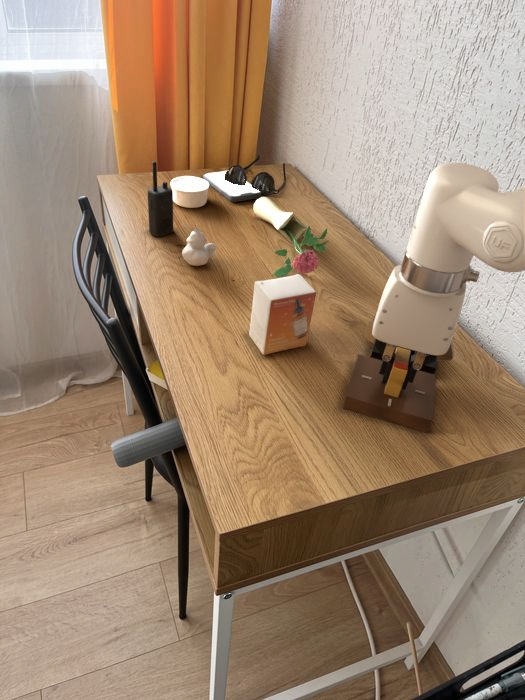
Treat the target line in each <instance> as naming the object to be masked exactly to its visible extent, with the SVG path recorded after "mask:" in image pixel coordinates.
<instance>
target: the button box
mask: <svg viewBox="0 0 525 700" xmlns="http://www.w3.org/2000/svg"><path fill="white" fill-rule="evenodd" d="M372 344H373V345H372V349H371V352H370V356H369V357H371V358H374V359H378V360H382V361H383V359H382V355H381V353H380V352H379V351H378V349H377V348H376V346H375V344H374V343H372ZM397 347H400V346H396V347H395V349H394V351H396V348H397ZM400 348H403V347H400ZM404 349H407V348H404ZM407 350H411V349H407ZM414 353H415V350H411V352H410V357H411V355H414ZM437 366H438V360H436V361H434V362H432V363H429V364H427V365H424V366H422V367H421V369H419V371H423V372H426V373H430V374H434V375H435V373H436V370H437Z"/></svg>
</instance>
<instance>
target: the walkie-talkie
mask: <svg viewBox="0 0 525 700" xmlns="http://www.w3.org/2000/svg"><path fill="white" fill-rule="evenodd" d="M151 164H152V165H151V167H152V168H151V169H152V187H151V188H148V190H147V211H148V232H149V233H150V234H151V235H153V236H155V237H162V236H165V235H168V234H172V233H173V232H174V201H173V190H172V187H169V186H168V182H167V181H163V182H162V185H159V186H158V171H157V170H158V168H157V167H158V165H157V164H158V163H157V161H155V160H154V161H152V162H151Z"/></svg>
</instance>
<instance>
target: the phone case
mask: <svg viewBox="0 0 525 700" xmlns="http://www.w3.org/2000/svg"><path fill="white" fill-rule="evenodd" d="M227 171H228V170H222V171H221V170H220V171H215V172H208V173H204V174H203V176H202V177H203V178H202V179H204V180H206V181H207V182H208V183H209V186H210V187H212V188H214V189H215V190H216V191H217V192H218V193H220V194H221V195H222V196H224V197H225V198H226V199H227V200H229V201H230V202H233V203H234V202H235V203H236V202H242V201H250V200H255V199H256V200H257V199H259V198H261V197H262V190H260V189H258V188H257V189H258V190H257V189H255V188H253V187H252V185H253V184H251V183H250V182H248V181H247V180H246V183H245V185H238V184H233V183H231V182H229V181H227V180H225V174H226V172H227ZM259 190H260V191H259Z"/></svg>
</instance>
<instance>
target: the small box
mask: <svg viewBox="0 0 525 700" xmlns="http://www.w3.org/2000/svg"><path fill="white" fill-rule="evenodd" d="M252 296H253V297H252V305H251V316H250V324H249V333H248V335H249V337H250V338H251V340H252V341H253V343H254V344H255V345H256V347H257V348H258V350H259V352H261V354H262V355H263V356H266V355H270V354H273V353H277V352H282V351H287V350H290V349H291V350H292V349H295V348H302V347H306V345H307V342H308V338H309V332H310V327H311V323H312V317H313V311H314V306H315V302H316V297H317V292H316V290H315V289H314V287H312V286H311V285H310V284H309V282H308V281H307V280H306V279H305V278H304V277H303V275H301V273H298V274H294V275H289V276H282V277H278V278H272V279H271V278H270V279H264V280H257V281H255V282H254V286H253V295H252Z"/></svg>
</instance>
